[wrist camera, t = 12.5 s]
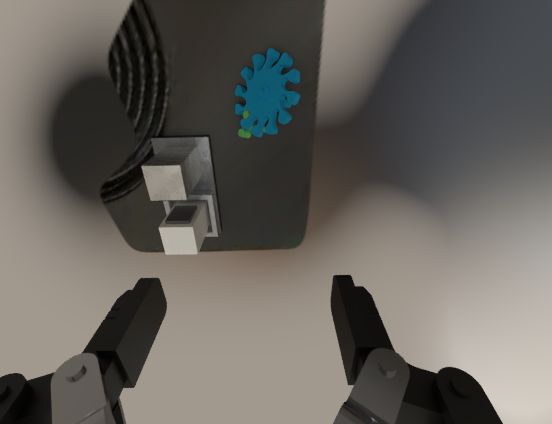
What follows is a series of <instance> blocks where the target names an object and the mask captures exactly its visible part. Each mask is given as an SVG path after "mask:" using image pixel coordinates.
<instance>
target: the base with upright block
mask: <svg viewBox="0 0 552 424" xmlns="http://www.w3.org/2000/svg"><path fill="white" fill-rule="evenodd" d="M151 141H152V145H153V149H154V153H155V156H153V157H152V158H151V159H150V160H148V161H147V162H146V163H145V164H143V165H142V166H141V167H142V170H143V174H144V178H145V181H146V185H147V189H148V192H149V196H150V199H151V201H155V200H159V201H163V202H164V206H165V210H166V214H167V215H168V213H169V212H170V210H171V209H172V207H173V206H174V204H175V203H176V202H177V201H184V200H206V203H207V210H208V216H209V222H210V225H209V227H208V230H207V232H206V235H205V237H214V236H218V235H219V233H221V232H222V224H221V216H220V209H219V202H218V194H217V187H216V180H215V173H214V165H213V158H212V151H211V143H210V136H209V135H208V136H158V137H152V138H151Z"/></svg>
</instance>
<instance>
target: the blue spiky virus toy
mask: <svg viewBox="0 0 552 424" xmlns="http://www.w3.org/2000/svg"><path fill="white" fill-rule="evenodd" d="M279 56H280V53H279V52H277V51H276V50H274V49H272V48H269V49H268V51H267V58H266V61H265V57H264V56H263V55H261V54H256V55H254V56H253V58H252V61H253V64H254V73H253V72H252V69H250V68H248V67H245V68H244V69H243V70H242V71H241V76H242V77H243V78H244V79H245V80H246V83H247V91H246V89H245V87H243V86H240V85H237V87H236V90H235V95H236V96H239V97H244V98H245V100H246V105H245V106H244V105H241V104H236V106H235V114H238V115H243V118H245V119H242V120H241V121H240V123H241V126H242V128H243V129H240V130H239V132H238V134H239V136H240V137H243V138H250V137H251V133H252V134H253V135H255V136H257V137H261V136H262V135H263V132H265V133H267V134H271V135H273V134H277V131H278V129H277V126H276V116H277V112H278V111H279V117H278V120H279V122H280V123H282V124H286V123H288V122H289V121H290V120H291V119H292V117H291V114H289V113H288V112H287V111H286V109H285V107H286V108H290V107H291V105H296V104H297V103H298V101H299V99H300V94H298V93H296V92H294V91H291V92H290V91H288V90H287V89H286V88H285V84H286V82H287V81H288V80H289V81H290V82H292V83H294V84H297V83H299V81H300V72H299V71H297V70H296V69H292V70H290V71H289V72H288V73H287V74H284V75H281V70H282V69H283V68H289V67H291V66H292V64H293V61H292V58H291V56H290V55H289V54H287V53H283V54H282V56H281V58H280V60H279V61H278V63H277V64H276V65H275V66H274V67H272V64H273V63H274V62H275V61H277V60H278V58H279ZM264 61H265V64H264ZM263 64H264V66H263V67H262V65H263ZM261 67H262V69H261ZM252 74H253V77H252ZM285 97H287V99H285ZM268 119H269V122H268V124H267V126H266V127H265V126H264V125H265V123H266V121H267V120H268Z"/></svg>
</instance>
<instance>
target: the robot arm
mask: <svg viewBox="0 0 552 424" xmlns="http://www.w3.org/2000/svg"><path fill="white" fill-rule="evenodd" d="M166 308H167V302H166V298H165V295H164V292H163V288H162V285H161V282H160V279H159V278H141V279H139V280H138V282H137V283H136V285H135V287H134V288H133V290H128V291H126V292H125V293H124V294H123V295H121V296H120V297H119V298H118V299H117V300H116V302H115V303H114V305H113V306H112V308H111V311H109V313H108V314H107V316H106V317H105V320H103V322H102V323H101V325H100V326H99V328H98V329H97V331H96V333H95V334H94V336H93V337H92V339H91V340H90V342H89V343H88V345H87V346H86V348H85V349H84V351H83V352H82V353H81V354H79V355H76V356H74V357H72V358H70V359H69V360H67V361H66V362H64V363H63V364H62V365H61V366H60V367H59V368H58V369H57V370H56V372H54V373H51V374H48V375H45V376H41V377H38V378H35V379H31V380H28V381H27V380H26V379H25V377H24V376H23V375H22V374H19V373H13V374H8V375H5V376H2V377H0V424H126V421H125V417H124V413H123V409H122V405H121V401H120V398H119V396H120V394H121V392H122V390H123V388H134V387H135V385H136V382H137V380H138V377H139V375H140V373H141V370H142V368H143V366H144V363H145V361H146V359H147V356H148V354H149V351H150V349H151V347H152V345H153V342H154V340H155V338H156V335H157V333H158V331H159V328H160V326H161V324H162V321H163V319H164V317H165V313H166ZM331 312H332V316H333V321H334V325H335V329H336V334H337V337H338V343H339V347H340V351H341V356H342V360H343V365H344V369H345V373H346V378H347V382H348V385H354V387H353V389H352V391H351V393H350V396H349V397H348V399H347V401H346V402H344V403H343V405H342V406H341V408H340V410H339V412H338V415H337V416H336V418H335V421H334V423H333V424H503V423H502V421H501V420H500V418H499V416H498V415H497V413H496V411H495V409H494V407H493V406H492V404H491V402H490V400H489V399H488V397H487V395H486V394H485V392H484V390H483V388H482V387H481V385H480V384H479V383H478V382H477V381H476V380H475V379H474V378H473V377H472V376H471V375H469V374H468V373H466V372H464V371H462V370H460V369H458V368H453V367H445V368H442V369H441V370H440V371H439V372H438V373H434V372H430V371H427V370H423V369H420V368H417V367H414V366H412V365H410V364H408V363H406V362H405V360H404V359H403V358H402V357H401V356H400V355H399V354H398V353H396V352H395V350H394V348H393V346H392V344H391V342H390V339H389V337H388V334H387V332H386V329H385V327H384V325H383V322H382V320H381V317H380V316H379V313H378V310H377V308H376V306H375V303H374V300H373V298H372V295H371V294H370V293H369V292H368V291H367V290H366V289H365V288H364V287H363V286H358V287H355V285H354V282H353V280H352V277H351V275H334V276H333V284H332V292H331Z"/></svg>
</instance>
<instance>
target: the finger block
mask: <svg viewBox="0 0 552 424" xmlns="http://www.w3.org/2000/svg"><path fill="white" fill-rule="evenodd" d="M209 225H210V222H209V216H208V210H207V203H206V200H184V201H177V202H176V203H175V204H174V206H173V207H172V209H171V210H170V212H169V213H168V215H167V216H166V218H165V219H164V220H163V222H162V223H161V225H160V226H159V231H160V235H161V238H162V242H163V246H164V249H165V253H166V255H171V254H172V255H173V254H174V255H176V254H198V253H199V250H200V248H201V245H202V243H203V240H204V238H205V235H206V232H207V230H208V227H209Z"/></svg>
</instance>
